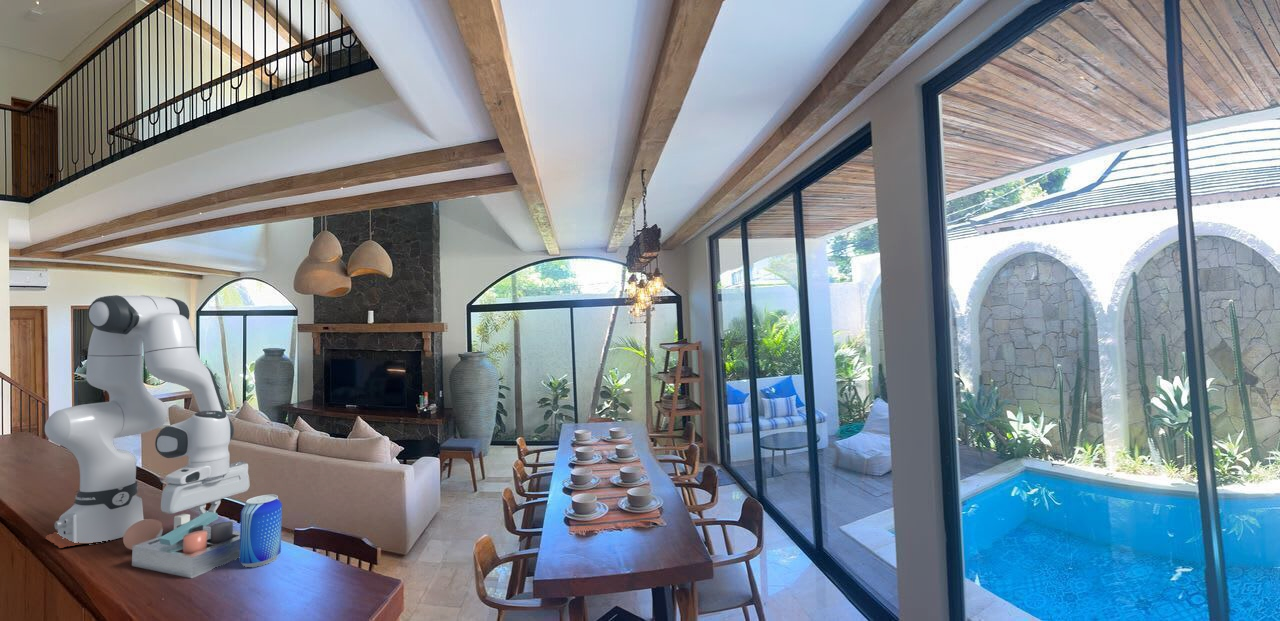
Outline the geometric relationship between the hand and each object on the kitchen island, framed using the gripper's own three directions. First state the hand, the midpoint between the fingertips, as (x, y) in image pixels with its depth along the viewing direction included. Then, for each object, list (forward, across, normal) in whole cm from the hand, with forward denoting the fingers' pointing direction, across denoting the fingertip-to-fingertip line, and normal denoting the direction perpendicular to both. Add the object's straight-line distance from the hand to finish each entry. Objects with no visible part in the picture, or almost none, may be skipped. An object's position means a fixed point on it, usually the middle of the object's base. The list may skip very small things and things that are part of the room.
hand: (207, 518), depth 136 cm
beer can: (+7, +4, +26) cm, 28 cm away
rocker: (-1, +8, +6) cm, 10 cm away
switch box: (+7, +8, +8) cm, 14 cm away
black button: (+4, +6, +14) cm, 16 cm away
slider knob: (+2, +6, 0) cm, 6 cm away
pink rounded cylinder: (+4, +12, +14) cm, 19 cm away
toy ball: (+7, +8, -12) cm, 16 cm away
